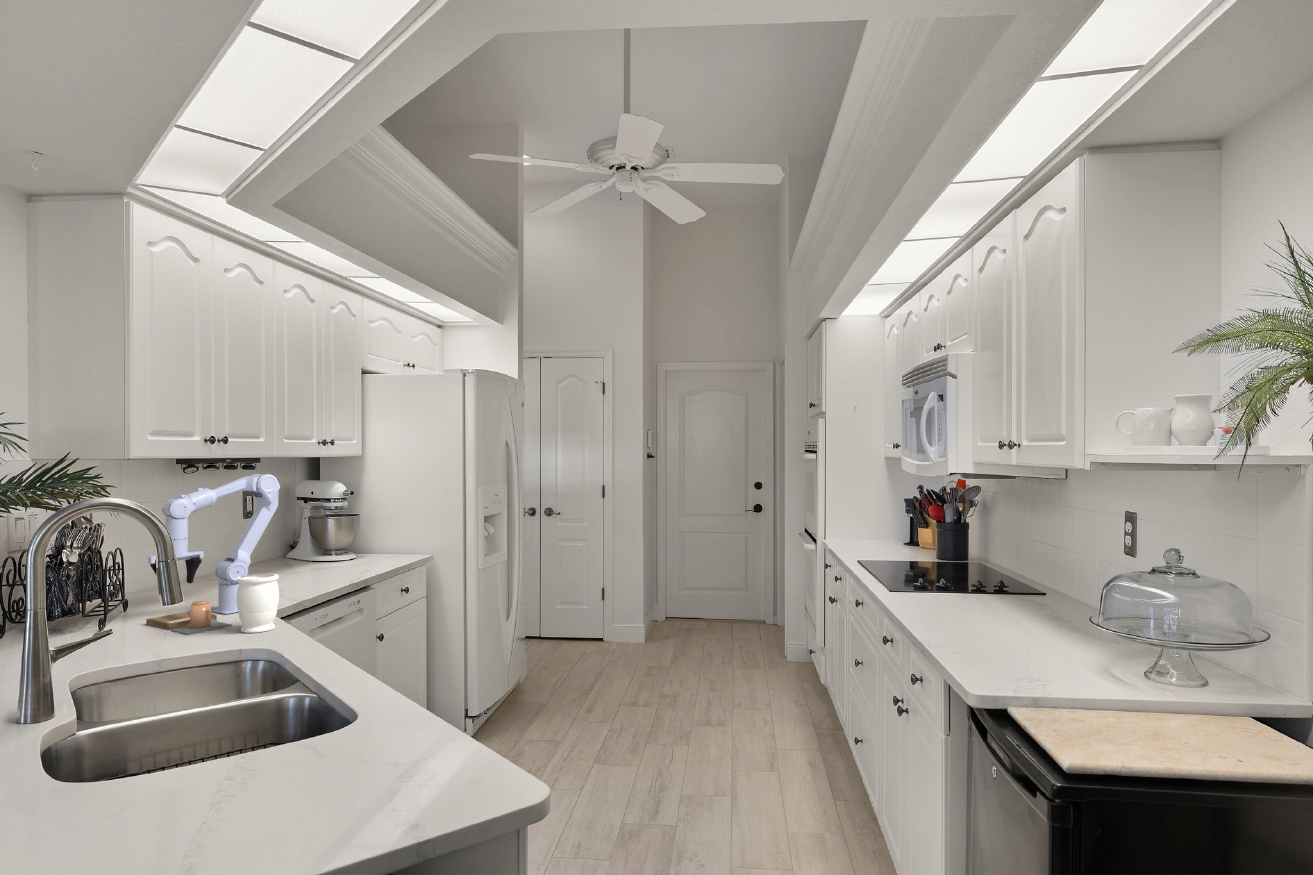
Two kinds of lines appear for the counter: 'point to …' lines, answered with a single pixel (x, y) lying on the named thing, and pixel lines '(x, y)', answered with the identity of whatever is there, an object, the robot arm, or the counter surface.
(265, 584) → the jar
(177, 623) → the wooden tray
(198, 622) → the jug
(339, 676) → the counter surface
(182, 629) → the mat
